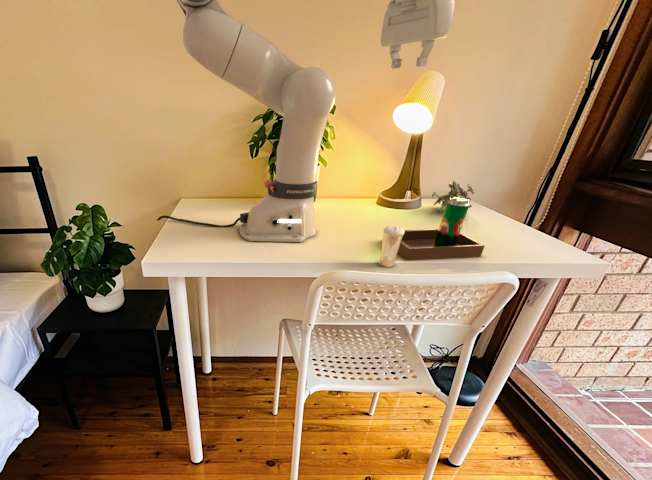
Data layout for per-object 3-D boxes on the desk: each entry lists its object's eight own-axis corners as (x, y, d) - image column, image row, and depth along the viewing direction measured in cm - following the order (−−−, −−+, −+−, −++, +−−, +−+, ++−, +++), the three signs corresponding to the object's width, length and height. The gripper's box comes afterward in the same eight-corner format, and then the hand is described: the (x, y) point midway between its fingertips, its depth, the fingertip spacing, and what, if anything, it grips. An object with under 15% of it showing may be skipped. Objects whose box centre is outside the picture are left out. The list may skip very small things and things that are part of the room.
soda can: (430, 243, 100) (444, 196, 93) (449, 243, 100) (464, 196, 93) (438, 249, 96) (453, 201, 89) (458, 250, 95) (474, 202, 89)
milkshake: (375, 267, 87) (384, 225, 82) (376, 259, 92) (386, 218, 86) (395, 270, 86) (406, 227, 80) (396, 262, 90) (406, 220, 84)
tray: (406, 260, 91) (409, 249, 89) (382, 241, 102) (385, 231, 101) (480, 256, 93) (485, 245, 91) (449, 238, 104) (452, 228, 102)
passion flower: (456, 228, 128) (483, 204, 117) (427, 222, 127) (451, 198, 116) (452, 202, 132) (478, 177, 121) (424, 196, 131) (447, 170, 120)
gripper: (377, -1, 88) (371, 70, 97) (438, -21, 72) (425, 67, 80) (400, -3, 89) (393, 67, 98) (465, -24, 73) (449, 63, 81)
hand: (408, 67), depth 89 cm, fingers open, 8 cm apart
